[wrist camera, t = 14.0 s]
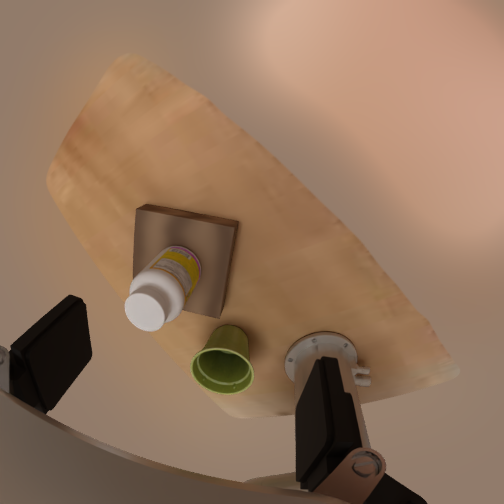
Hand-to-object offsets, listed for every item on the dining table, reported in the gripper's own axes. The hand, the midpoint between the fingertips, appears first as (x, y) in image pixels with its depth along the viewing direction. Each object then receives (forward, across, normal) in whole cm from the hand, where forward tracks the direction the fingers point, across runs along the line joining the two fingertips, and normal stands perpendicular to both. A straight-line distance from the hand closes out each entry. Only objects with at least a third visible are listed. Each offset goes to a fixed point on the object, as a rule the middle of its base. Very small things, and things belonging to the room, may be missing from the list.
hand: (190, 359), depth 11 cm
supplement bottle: (+29, +9, +10) cm, 32 cm away
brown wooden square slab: (+32, +9, +10) cm, 35 cm away
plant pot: (+32, 0, +23) cm, 40 cm away
